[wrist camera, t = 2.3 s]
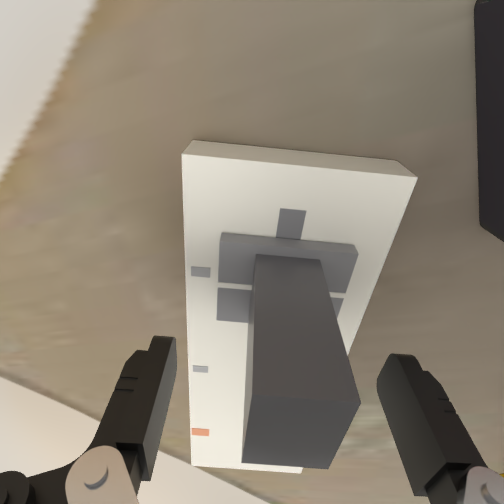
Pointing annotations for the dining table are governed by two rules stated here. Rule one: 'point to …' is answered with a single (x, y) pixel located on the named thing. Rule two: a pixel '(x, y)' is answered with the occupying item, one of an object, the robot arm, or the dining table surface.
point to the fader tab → (290, 345)
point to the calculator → (490, 112)
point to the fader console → (278, 226)
